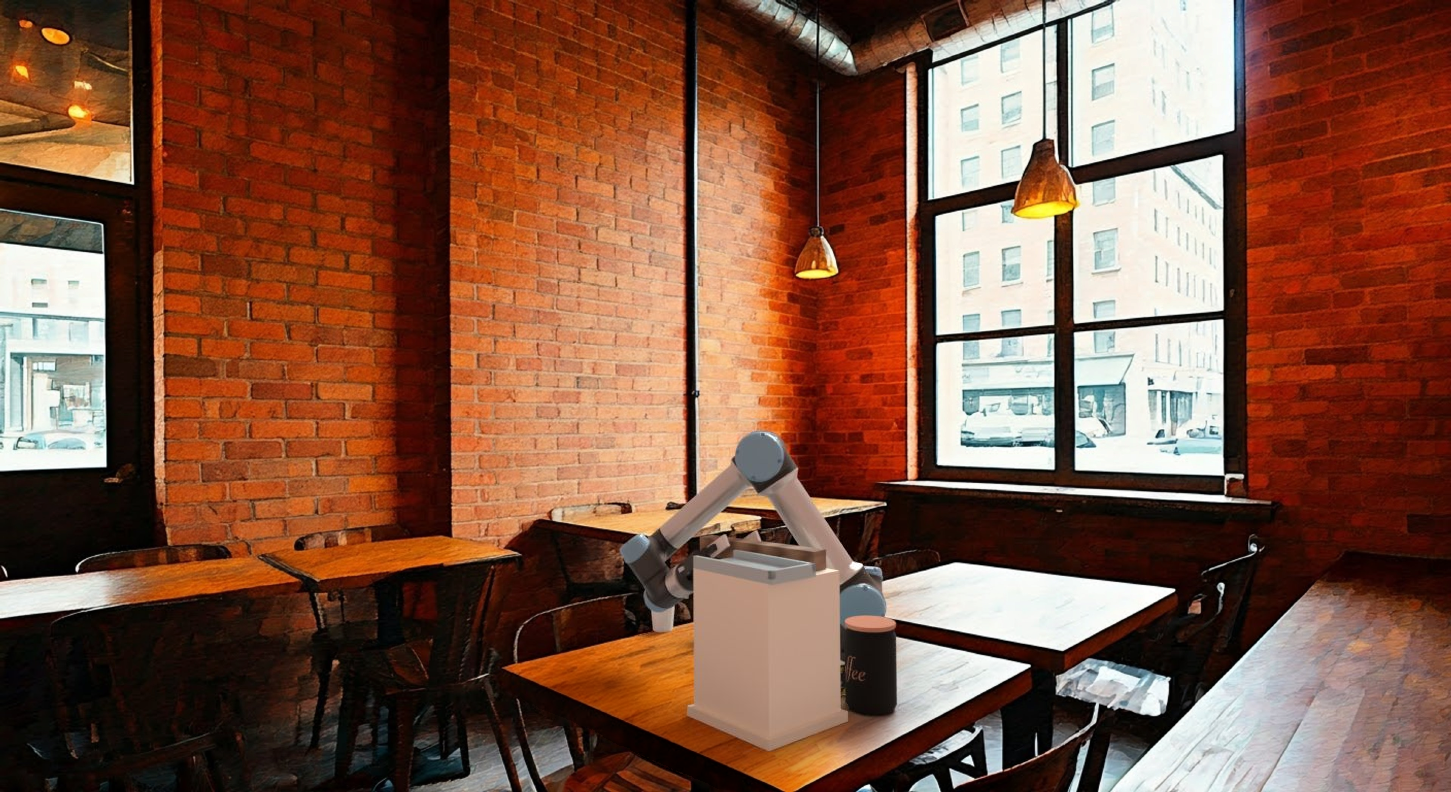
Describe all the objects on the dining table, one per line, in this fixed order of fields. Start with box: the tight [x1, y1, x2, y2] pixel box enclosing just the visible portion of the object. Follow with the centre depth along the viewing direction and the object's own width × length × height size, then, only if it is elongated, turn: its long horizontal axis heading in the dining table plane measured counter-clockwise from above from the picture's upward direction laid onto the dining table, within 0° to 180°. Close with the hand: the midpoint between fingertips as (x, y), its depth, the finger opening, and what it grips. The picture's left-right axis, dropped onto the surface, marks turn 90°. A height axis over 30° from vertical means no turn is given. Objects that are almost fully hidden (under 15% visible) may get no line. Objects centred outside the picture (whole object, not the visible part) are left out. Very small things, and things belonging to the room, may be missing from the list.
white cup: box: [650, 606, 675, 633], centre depth 233 cm, size 7×7×7 cm
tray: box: [693, 550, 816, 585], centre depth 161 cm, size 23×12×2 cm, turn 41°
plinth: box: [686, 568, 849, 752], centre depth 164 cm, size 24×22×30 cm
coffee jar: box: [844, 616, 898, 717], centre depth 169 cm, size 11×11×18 cm
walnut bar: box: [699, 534, 826, 572], centre depth 173 cm, size 32×4×4 cm, turn 47°
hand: (742, 538), depth 178 cm, fingers open, 9 cm apart
